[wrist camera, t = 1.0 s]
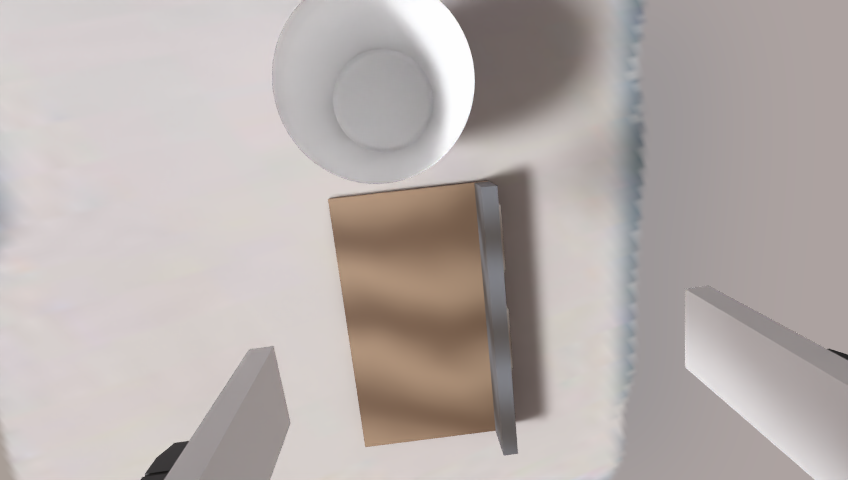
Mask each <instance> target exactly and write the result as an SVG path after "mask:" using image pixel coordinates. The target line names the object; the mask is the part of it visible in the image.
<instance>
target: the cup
mask: <svg viewBox="0 0 848 480" xmlns="http://www.w3.org/2000/svg"><path fill="white" fill-rule="evenodd" d="M272 85H273V93H274V98H275V103H276V106H277V109H278V113H279V115H280V118H281V120H282V122H283V124H284V126H285V128H286V130H287V132H288V134H289V135H290V137H291V138H292V140H293V141H294V142H295V144H296V145H297V146H298V147H299V148H300V150H301V151H302V152H303V153H304V154H305V155H306V156H307V157H309V158H310V159H311V160H312V161H313V162H314V163H316V164H317V165H319V166H320V167H322V168H323V169H325V170H327V171H328V172H330V173H332V174H334V175H337V176H339V177H341V178H344V179H347V180H351V181H355V182H360V183H368V184H383V183H391V182H397V181H401V180H405V179H407V178H410V177H413V176H415V175H417V174H419V173H421V172H423V171H425V170H426V169H428V168H430V167H431V166H433V165H434V164H435V163H436V162H438V161H439V160H440V159H441V158H442V157H443V156H444V155H445V154H446V153H447V152H448V151H449V150H450V149H451V148H452V146H453V145H454V144H455V142H456V141H457V139H458V138H459V136H460V134H461V133H462V131H463V129H464V127H465V125H466V122H467V120H468V117H469V114H470V111H471V107H472V103H473V96H474V86H475V77H474V66H473V60H472V55H471V51H470V48H469V45H468V42H467V40H466V37H465V35H464V33H463V31H462V29H461V27H460V25H459V24H458V22H457V20H456V19H455V18H454V16H453V15H452V13H451V12H450V11H449V10H448V9H447V7H446V6H445V5H444V4H443V3H442V2H441V1H440V0H303V1H302V2H301V3H300V4H299V5H298V6H297V8H296V9H295V10H294V12H293V13H292V14H291V16H290V17H289V19H288V20H287V22H286V24H285V26H284V28H283V30H282V32H281V34H280V37H279V39H278V42H277V45H276V49H275V53H274V59H273V67H272Z"/></svg>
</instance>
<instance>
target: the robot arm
mask: <svg viewBox="0 0 848 480" xmlns="http://www.w3.org/2000/svg"><path fill="white" fill-rule="evenodd" d="M685 367H686V368H687V369H688V370H689V371H690V372H691V373H692V374H694V375H695V376H696V377H697V378H698V379H699V380H701V381H702V382H703V383H704V384H705V385H706V386H708V387H709V388H710V389H711V390H712V391H713V392H714V393H716V394H717V395H718V396H719V397H720V398H721V399H722V400H724V401H725V402H726V403H727V404H728V405H729V406H731V407H732V408H733V409H734V410H735V411H736V412H738V413H739V414H740V415H741V416H742V417H743V418H744V419H746V420H747V421H748V422H749V423H750V424H751V425H752V426H754V427H755V428H756V429H757V430H758V431H759V432H761V433H762V434H763V435H764V436H765V437H766V438H767V439H769V440H770V441H771V442H772V443H773V444H774V445H775V446H777V447H778V448H779V449H780V450H781V451H782V452H784V453H785V454H786V455H787V456H788V457H789V458H791V459H792V460H793V461H794V462H795V463H796V464H797V465H798V466H800V467H801V468H802V469H803V470H804V471H805V472H807V473H808V474H809V475H810V476H811V477H812V478H813V479H815V480H848V355H847V354H844V353H841V352H838V351H835V350H831V349H825V348H824V347H822V346H820V345H818V344H816V343H815V342H813V341H811V340H809V339H807V338H805V337H803V336H802V335H800V334H798V333H796V332H794V331H792V330H790V329H788V328H787V327H785V326H783V325H781V324H779V323H777V322H775V321H773V320H772V319H770V318H768V317H766V316H764V315H763V314H761V313H759V312H757V311H755V310H753V309H751V308H749V307H748V306H746V305H744V304H742V303H740V302H738V301H736V300H735V299H733V298H731V297H729V296H727V295H725V294H723V293H722V292H720V291H718V290H716V289H714V288H712V287H710V286H703V287H695V288H689V289H685ZM289 426H290V419H289V414H288V410H287V405H286V400H285V396H284V391H283V387H282V382H281V378H280V373H279V369H278V364H277V360H276V355H275V351H274V346H271V347H264V348H257V349H250V350H249V351H248V352H247V354H246V355H245V357H244V358H243V360H242V361H241V363H240V364H239V366H238V367H237V369H236V370H235V372H234V373H233V375H232V376H231V378H230V380H229V381H228V383H227V384H226V386H225V387H224V389H223V390H222V392H221V393H220V395H219V396H218V398H217V399H216V401H215V402H214V404H213V406H212V407H211V409H210V410H209V412H208V413H207V415H206V416H205V418H204V419H203V421H202V422H201V424H200V425H199V427H198V428H197V430H196V432H195V433H194V435H193V436H192V438H191V439H190V441H186V442H178V443H174V444H173V445H172V446H170V447H169V448H168V449H167V450H166V451H164V452H163V453H162V454H161V455H159V456H158V457H157V458H156V459H155V461H154V462H153V463H152V465H151V466H150V468H149V469H148V470H147V472H146V473H145V477H142V479H141V480H270V478H271V476H272V473H273V470H274V467H275V465H276V462H277V459H278V456H279V453H280V451H281V448H282V445H283V442H284V440H285V437H286V434H287V431H288V428H289Z"/></svg>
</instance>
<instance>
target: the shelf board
mask: <svg viewBox="0 0 848 480" xmlns="http://www.w3.org/2000/svg"><path fill="white" fill-rule="evenodd" d="M328 202H329V209H330V215H331V222H332V229H333V235H334V242H335V248H336V255H337V262H338V268H339V275H340V282H341V288H342V295H343V302H344V308H345V315H346V322H347V328H348V335H349V341H350V348H351V355H352V361H353V368H354V375H355V381H356V388H357V395H358V401H359V408H360V415H361V421H362V428H363V434H364V441H365V447H369V446H377V445H385V444H393V443H401V442H409V441H417V440H425V439H433V438H441V437H448V436H456V435H464V434H472V433H480V432H488V431H496V433H497V436H498V439H499V442H500V445H501V448H502V451H503V454H504V455H511V454H518V449H517V436H516V423H515V410H514V397H513V384H512V371H511V369H513V360H512V347H511V334H510V321H509V308H508V307H507V305H506V293H505V280H504V271H506V268H505V255H504V242H503V229H502V216H501V205H500V204H499V202H498V189H497V185H495V184H493V183H491V182H489V181H479V182H470V183H461V184H452V185H444V186H435V187H426V188H417V189H408V190H400V191H391V192H382V193H373V194H364V195H356V196H347V197H338V198H329V199H328Z"/></svg>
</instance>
